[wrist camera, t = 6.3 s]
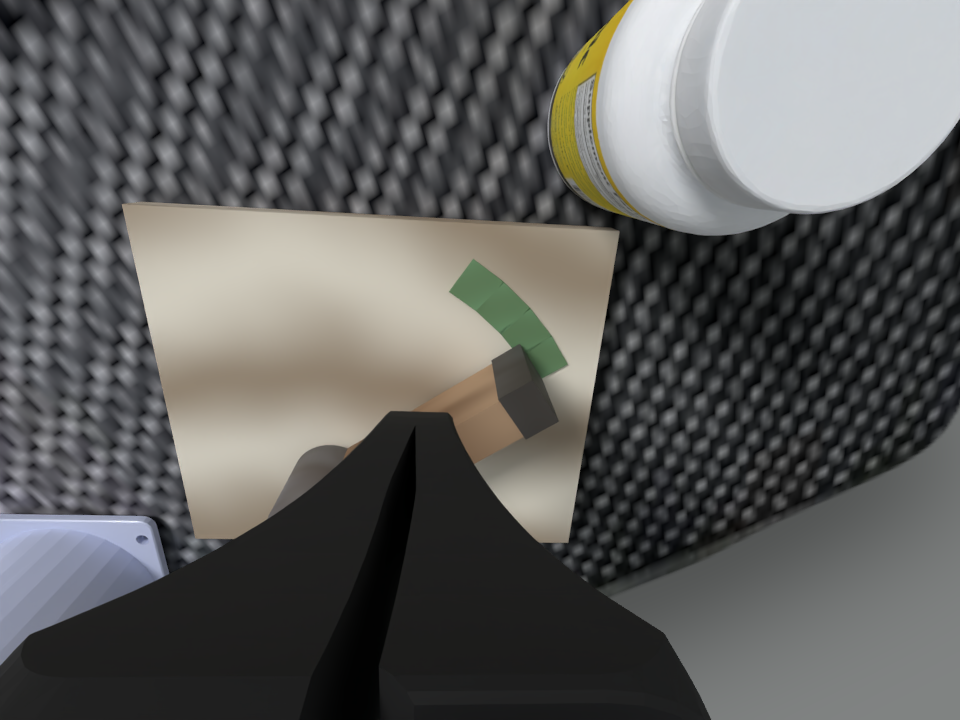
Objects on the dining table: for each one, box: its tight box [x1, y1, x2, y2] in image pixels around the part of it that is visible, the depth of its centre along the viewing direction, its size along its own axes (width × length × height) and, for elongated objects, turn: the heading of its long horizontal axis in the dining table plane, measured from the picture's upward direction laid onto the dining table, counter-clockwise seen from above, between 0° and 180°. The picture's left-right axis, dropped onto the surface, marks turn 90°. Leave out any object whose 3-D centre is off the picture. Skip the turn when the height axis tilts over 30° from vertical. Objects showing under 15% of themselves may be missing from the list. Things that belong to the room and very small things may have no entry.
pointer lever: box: [267, 344, 559, 519], centre depth 17 cm, size 11×3×3 cm, turn 122°
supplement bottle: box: [548, 0, 960, 235], centre depth 11 cm, size 5×5×10 cm
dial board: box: [122, 202, 620, 543], centre depth 18 cm, size 14×16×1 cm
